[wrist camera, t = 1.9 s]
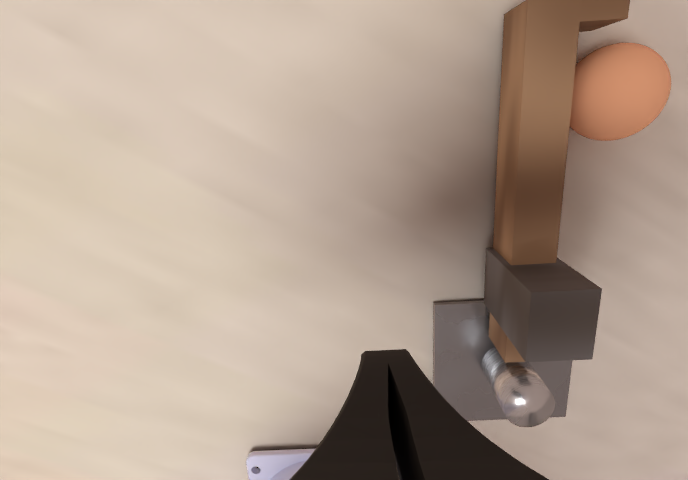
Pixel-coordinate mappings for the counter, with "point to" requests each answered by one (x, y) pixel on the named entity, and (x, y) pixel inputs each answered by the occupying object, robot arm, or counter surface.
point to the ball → (618, 91)
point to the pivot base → (464, 359)
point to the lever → (539, 186)
